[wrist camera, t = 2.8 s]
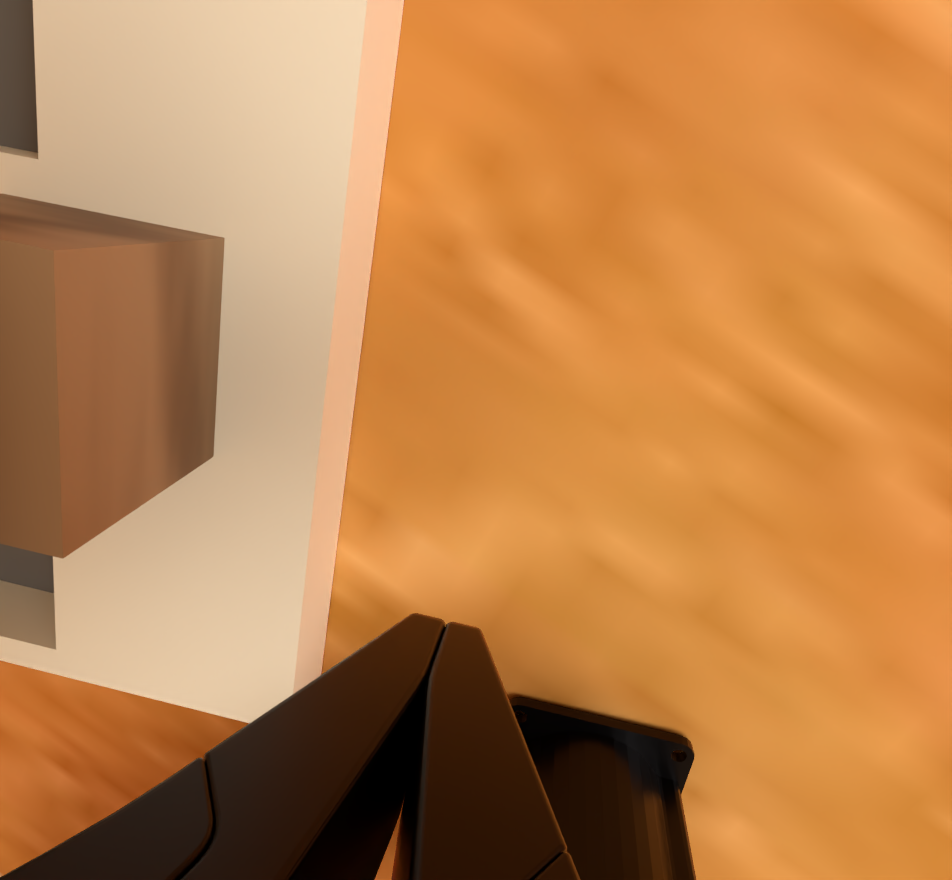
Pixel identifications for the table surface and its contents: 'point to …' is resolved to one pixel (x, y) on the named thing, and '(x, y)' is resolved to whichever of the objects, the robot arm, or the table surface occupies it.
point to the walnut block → (100, 367)
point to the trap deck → (241, 326)
